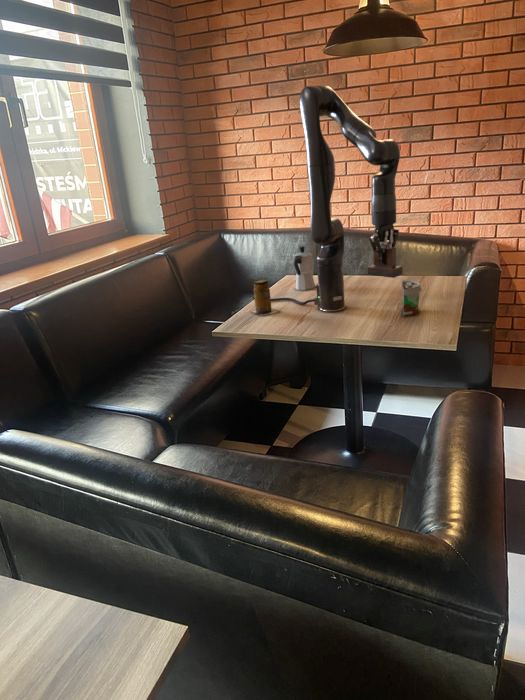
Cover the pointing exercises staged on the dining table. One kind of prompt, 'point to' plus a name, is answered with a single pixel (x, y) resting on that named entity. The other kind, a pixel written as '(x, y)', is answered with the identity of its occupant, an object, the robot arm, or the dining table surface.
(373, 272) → the brown stepped block
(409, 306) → the food container
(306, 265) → the coffee maker
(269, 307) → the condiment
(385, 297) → the dining table surface
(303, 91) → the robot arm
